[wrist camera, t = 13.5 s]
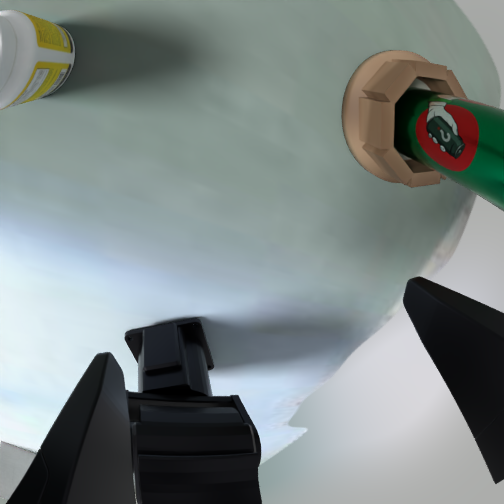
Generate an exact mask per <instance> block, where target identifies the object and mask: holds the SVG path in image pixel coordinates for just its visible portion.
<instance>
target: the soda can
mask: <svg viewBox="0 0 504 504" xmlns="http://www.w3.org/2000/svg"><path fill="white" fill-rule="evenodd" d="M393 147H394V148H395V150H396V151H397V152H399V153H400V154H402V155H404V156H406V157H408V158H410V159H412V160H414V161H416V162H418V163H420V164H422V165H424V166H426V167H428V168H430V169H432V170H434V171H436V172H438V173H440V174H442V175H444V176H445V177H447V178H449V179H451V180H453V181H455V182H456V183H458V184H460V185H462V186H463V187H465V188H467V189H469V190H470V191H472V192H474V193H475V194H477V195H479V196H480V197H482V198H484V199H485V200H487V201H489V202H490V203H492V204H493V205H495V206H496V207H498V208H499V209H501V210H503V211H504V110H502V109H499V108H496V107H493V106H490V105H486V104H483V103H480V102H476V101H472V100H469V99H465V98H461V97H457V96H453V95H449V94H445V93H441V92H436V91H432V90H427V89H422V88H417V87H409V88H407V90H406V91H405V92H404V93H403V94H402V96H401V97H400V98H399V99H398V101H397V102H396V103H395V109H394V146H393Z"/></svg>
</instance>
